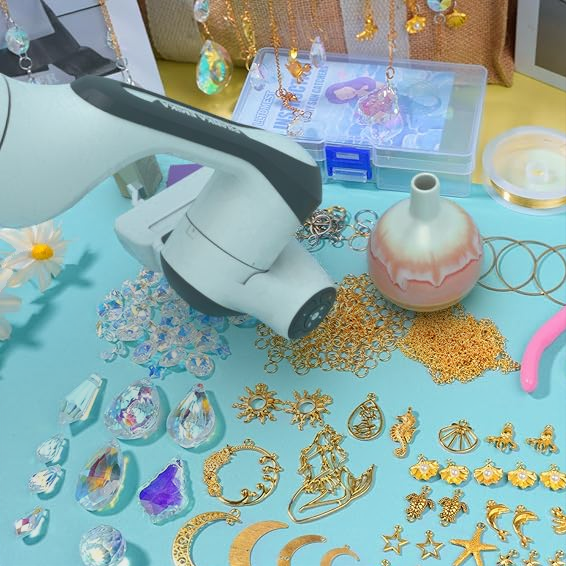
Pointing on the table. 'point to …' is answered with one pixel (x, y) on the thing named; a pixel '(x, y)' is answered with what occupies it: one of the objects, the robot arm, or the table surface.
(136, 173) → the box
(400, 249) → the vase
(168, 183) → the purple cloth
